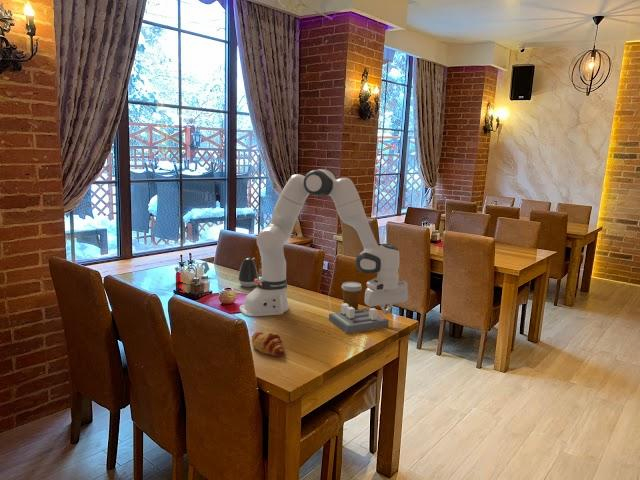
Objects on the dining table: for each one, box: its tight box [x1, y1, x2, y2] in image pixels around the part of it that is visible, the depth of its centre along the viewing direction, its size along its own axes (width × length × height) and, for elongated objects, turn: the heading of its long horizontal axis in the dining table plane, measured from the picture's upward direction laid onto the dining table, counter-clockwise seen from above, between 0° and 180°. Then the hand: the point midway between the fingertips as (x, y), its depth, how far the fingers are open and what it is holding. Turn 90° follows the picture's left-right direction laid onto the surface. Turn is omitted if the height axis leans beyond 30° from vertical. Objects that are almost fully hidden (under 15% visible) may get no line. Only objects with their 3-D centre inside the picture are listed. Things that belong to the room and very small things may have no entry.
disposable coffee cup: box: [341, 281, 363, 310], centre depth 221 cm, size 10×10×12 cm
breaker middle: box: [346, 307, 355, 319], centre depth 202 cm, size 2×3×4 cm
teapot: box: [174, 259, 210, 274], centre depth 261 cm, size 15×15×11 cm
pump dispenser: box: [238, 257, 259, 288], centre depth 252 cm, size 10×10×15 cm
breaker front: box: [369, 307, 379, 320], centre depth 201 cm, size 2×3×4 cm
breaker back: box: [340, 302, 349, 315], centre depth 206 cm, size 2×3×4 cm
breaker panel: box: [328, 307, 389, 334], centre depth 204 cm, size 20×16×3 cm
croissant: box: [251, 331, 285, 357], centre depth 177 cm, size 21×10×8 cm, turn 38°
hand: (385, 313), depth 204 cm, fingers closed
